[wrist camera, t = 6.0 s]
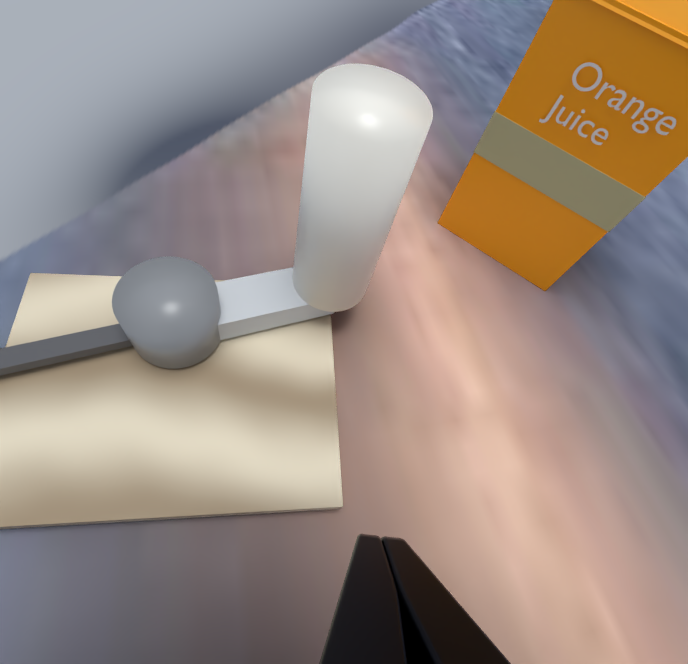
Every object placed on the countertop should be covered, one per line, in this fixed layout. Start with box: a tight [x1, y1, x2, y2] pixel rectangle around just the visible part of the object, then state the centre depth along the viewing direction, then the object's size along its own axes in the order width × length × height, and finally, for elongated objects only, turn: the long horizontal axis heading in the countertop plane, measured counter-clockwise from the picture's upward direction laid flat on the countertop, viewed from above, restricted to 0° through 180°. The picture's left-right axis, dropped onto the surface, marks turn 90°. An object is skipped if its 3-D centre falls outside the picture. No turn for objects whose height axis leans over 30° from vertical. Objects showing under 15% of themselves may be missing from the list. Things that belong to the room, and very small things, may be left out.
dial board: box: [0, 273, 343, 529], centre depth 20 cm, size 12×19×1 cm, turn 94°
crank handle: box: [0, 64, 433, 376], centre depth 16 cm, size 19×4×12 cm, turn 111°
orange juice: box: [438, 0, 688, 291], centre depth 22 cm, size 8×9×20 cm
